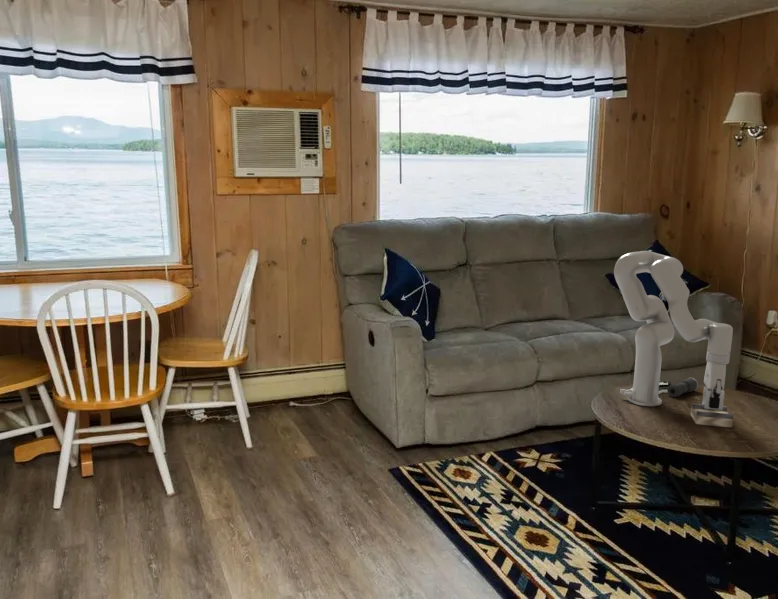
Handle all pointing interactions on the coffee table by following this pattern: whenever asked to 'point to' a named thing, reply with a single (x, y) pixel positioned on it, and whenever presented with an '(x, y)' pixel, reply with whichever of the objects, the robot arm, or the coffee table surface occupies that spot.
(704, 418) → the cradle
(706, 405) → the tall white block
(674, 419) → the coffee table surface
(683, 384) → the flashlight
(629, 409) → the coffee table surface
